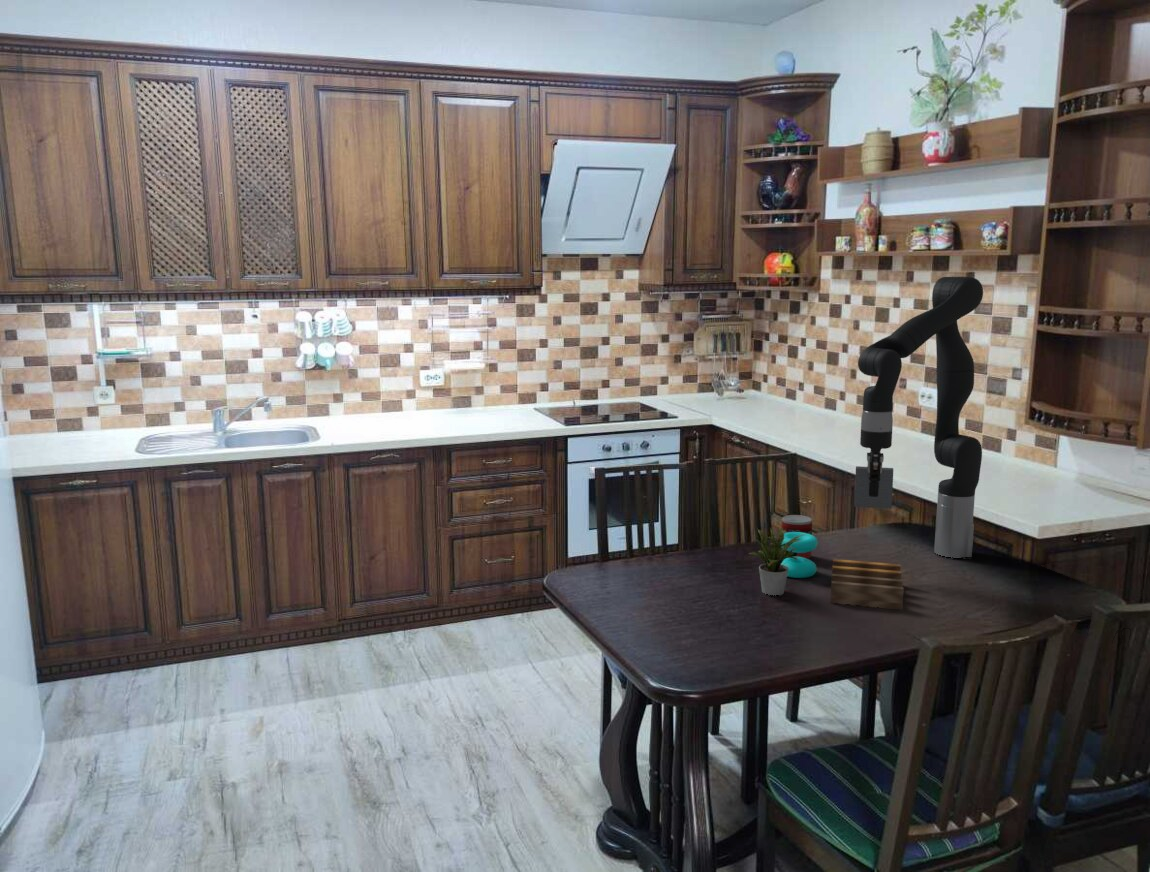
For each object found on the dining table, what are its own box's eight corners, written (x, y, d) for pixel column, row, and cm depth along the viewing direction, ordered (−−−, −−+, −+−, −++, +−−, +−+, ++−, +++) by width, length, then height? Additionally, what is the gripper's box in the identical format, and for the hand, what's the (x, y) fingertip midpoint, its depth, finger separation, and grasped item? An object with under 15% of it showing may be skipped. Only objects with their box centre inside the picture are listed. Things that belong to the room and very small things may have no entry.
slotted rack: (899, 584, 226) (900, 564, 226) (902, 609, 210) (903, 588, 209) (832, 578, 231) (833, 559, 230) (830, 603, 215) (831, 581, 214)
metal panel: (891, 506, 232) (893, 468, 230) (891, 508, 230) (893, 470, 228) (854, 504, 235) (855, 466, 233) (854, 506, 232) (855, 468, 230)
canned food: (775, 554, 251) (776, 516, 249) (801, 551, 253) (802, 513, 251) (790, 563, 244) (791, 523, 242) (816, 560, 246) (817, 520, 244)
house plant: (805, 606, 213) (808, 539, 210) (745, 602, 216) (747, 536, 212) (803, 585, 227) (805, 522, 223) (746, 582, 229) (748, 519, 226)
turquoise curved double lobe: (780, 541, 230) (776, 530, 239) (779, 579, 231) (774, 566, 241) (820, 542, 229) (814, 530, 238) (819, 580, 230) (813, 567, 240)
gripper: (893, 433, 221) (889, 502, 224) (891, 423, 234) (888, 489, 237) (861, 432, 223) (858, 500, 226) (860, 422, 236) (857, 487, 239)
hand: (873, 494), depth 232 cm, fingers closed on metal panel, 2 cm apart
